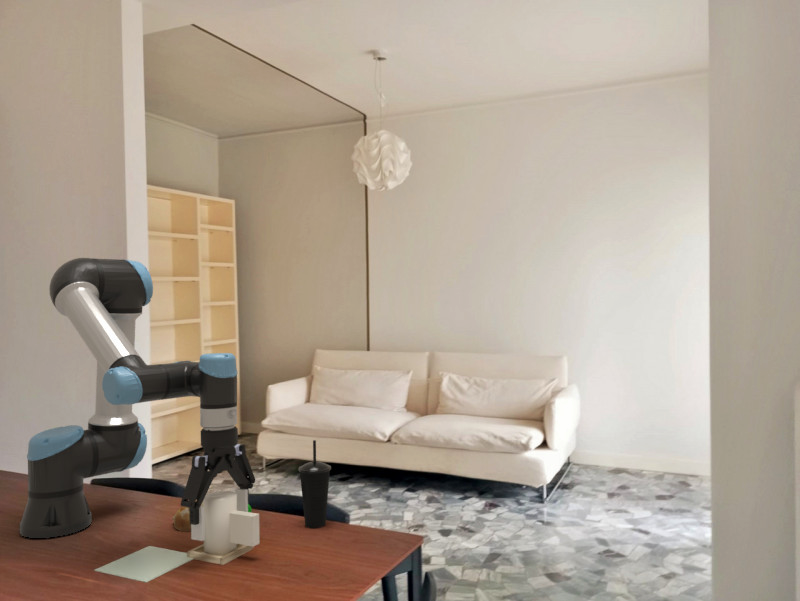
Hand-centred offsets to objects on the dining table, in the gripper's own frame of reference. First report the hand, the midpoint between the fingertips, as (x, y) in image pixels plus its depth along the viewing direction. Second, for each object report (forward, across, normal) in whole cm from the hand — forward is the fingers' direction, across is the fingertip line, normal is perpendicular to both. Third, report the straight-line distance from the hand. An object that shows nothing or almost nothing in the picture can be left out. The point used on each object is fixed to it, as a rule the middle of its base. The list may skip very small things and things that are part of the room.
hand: (221, 529), depth 134 cm
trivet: (+5, -10, +10) cm, 15 cm away
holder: (+6, 0, 0) cm, 6 cm away
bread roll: (+6, +12, +18) cm, 23 cm away
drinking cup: (+6, +24, -8) cm, 26 cm away
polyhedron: (+6, +19, +10) cm, 22 cm away
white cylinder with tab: (+5, 0, -3) cm, 6 cm away
